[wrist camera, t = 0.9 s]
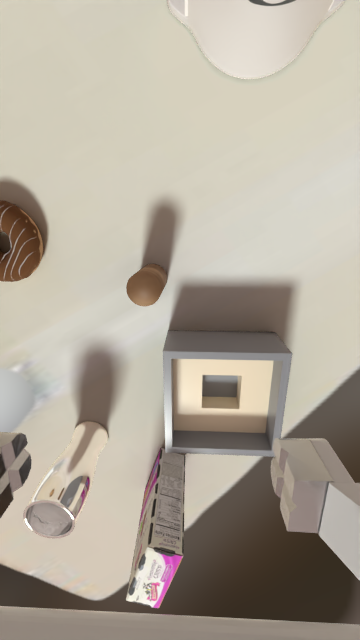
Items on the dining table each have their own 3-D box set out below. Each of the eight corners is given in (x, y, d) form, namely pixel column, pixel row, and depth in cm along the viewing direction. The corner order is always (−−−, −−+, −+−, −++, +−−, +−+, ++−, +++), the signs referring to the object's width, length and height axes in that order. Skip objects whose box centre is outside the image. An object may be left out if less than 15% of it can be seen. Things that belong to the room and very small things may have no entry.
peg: (138, 263, 39) (125, 272, 31) (167, 263, 38) (160, 272, 31) (140, 291, 40) (127, 306, 32) (167, 291, 40) (161, 306, 32)
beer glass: (97, 413, 47) (55, 492, 33) (118, 443, 49) (86, 531, 34) (64, 427, 48) (10, 509, 34) (85, 455, 50) (42, 545, 36)
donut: (63, 261, 39) (49, 264, 35) (4, 290, 41) (-15, 296, 37) (20, 187, 36) (0, 181, 33) (-41, 221, 38) (-67, 221, 34)
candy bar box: (169, 497, 52) (159, 611, 37) (144, 490, 52) (123, 601, 36) (187, 453, 49) (184, 558, 33) (160, 446, 48) (145, 548, 33)
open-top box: (168, 330, 42) (162, 351, 34) (274, 332, 41) (292, 353, 34) (169, 418, 46) (165, 452, 39) (264, 421, 46) (277, 456, 39)
